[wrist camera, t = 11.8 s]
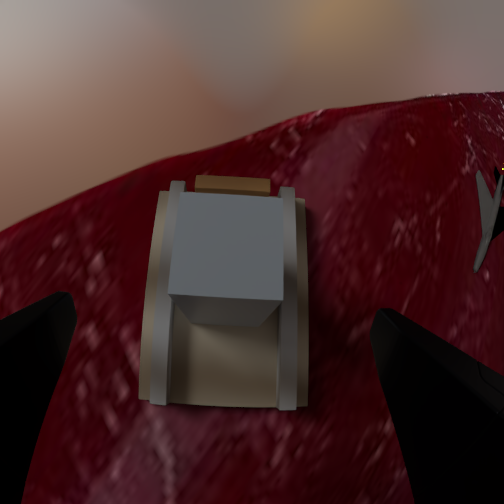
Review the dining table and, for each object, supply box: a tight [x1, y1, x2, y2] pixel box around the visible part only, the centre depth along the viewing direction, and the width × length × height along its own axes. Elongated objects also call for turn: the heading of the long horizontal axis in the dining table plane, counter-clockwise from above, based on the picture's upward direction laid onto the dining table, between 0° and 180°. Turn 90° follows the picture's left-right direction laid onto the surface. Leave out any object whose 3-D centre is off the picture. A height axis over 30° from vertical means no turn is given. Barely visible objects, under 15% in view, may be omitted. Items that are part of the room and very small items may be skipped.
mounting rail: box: [139, 175, 309, 410], centre depth 20 cm, size 15×11×4 cm
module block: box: [168, 192, 283, 327], centre depth 17 cm, size 5×4×9 cm
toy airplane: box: [473, 166, 504, 273], centre depth 27 cm, size 8×21×2 cm, turn 140°
